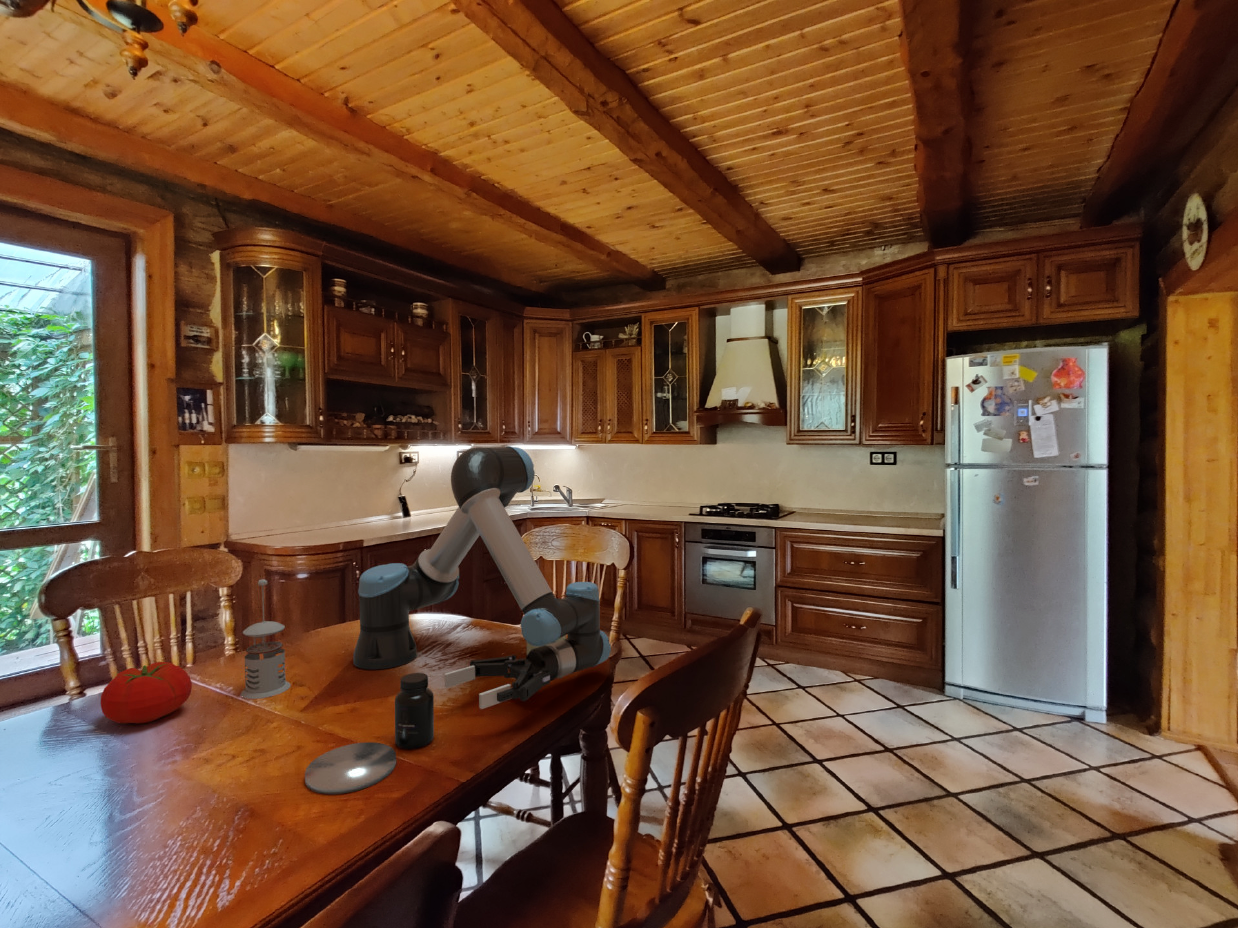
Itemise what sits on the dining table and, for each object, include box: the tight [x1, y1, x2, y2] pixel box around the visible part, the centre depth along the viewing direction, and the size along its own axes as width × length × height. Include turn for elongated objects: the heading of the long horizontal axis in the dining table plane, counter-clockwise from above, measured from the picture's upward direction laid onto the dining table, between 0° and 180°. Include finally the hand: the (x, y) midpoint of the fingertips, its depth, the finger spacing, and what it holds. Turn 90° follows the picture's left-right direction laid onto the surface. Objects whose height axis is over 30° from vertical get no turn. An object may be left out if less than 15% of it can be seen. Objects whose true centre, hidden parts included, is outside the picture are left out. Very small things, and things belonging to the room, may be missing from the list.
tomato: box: [100, 661, 193, 724], centre depth 122 cm, size 14×16×10 cm
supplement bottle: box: [394, 672, 435, 750], centre depth 111 cm, size 7×7×12 cm
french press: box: [240, 578, 291, 700], centre depth 136 cm, size 10×12×25 cm
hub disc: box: [304, 741, 397, 795], centre depth 102 cm, size 14×14×1 cm
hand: (461, 690), depth 117 cm, fingers open, 13 cm apart
